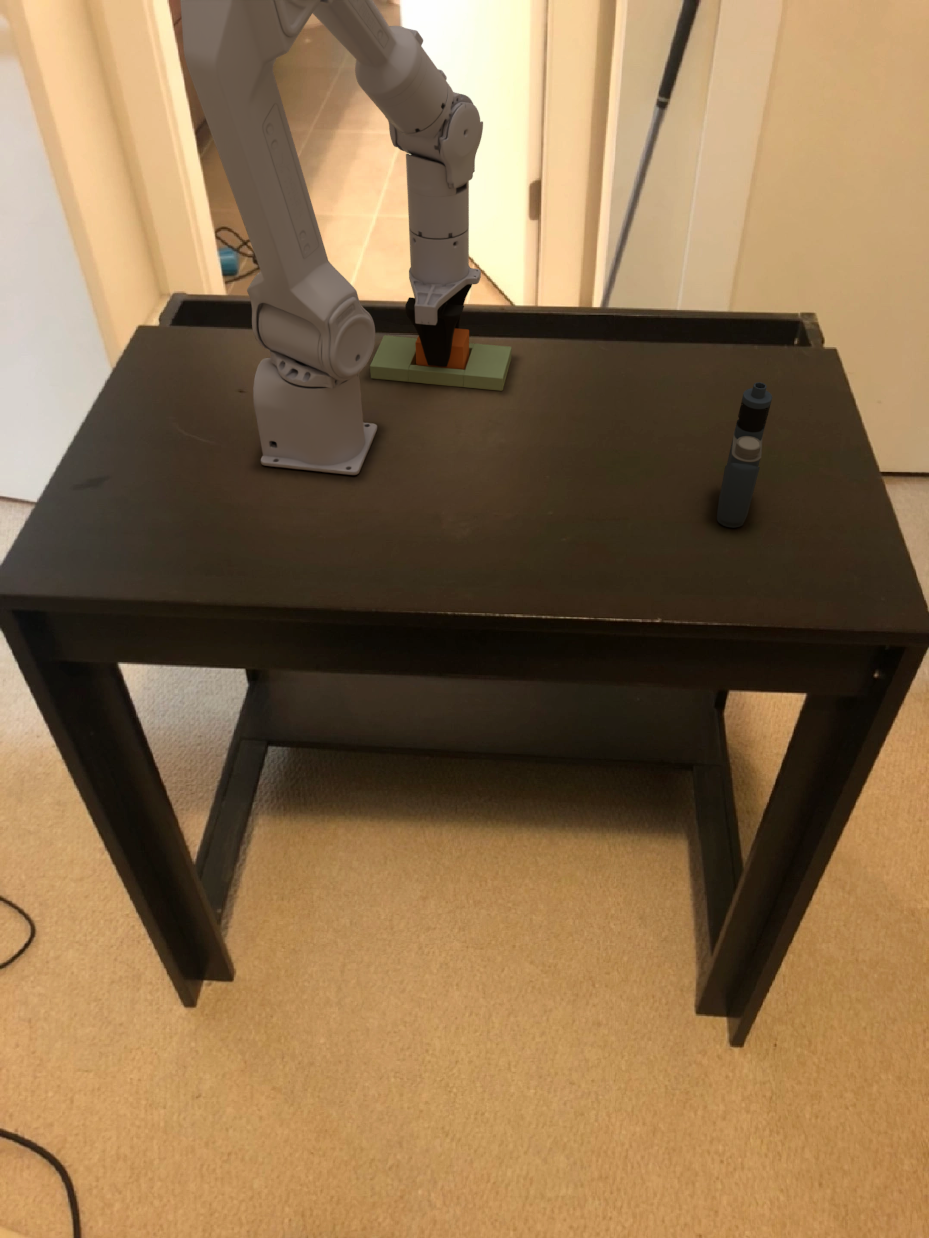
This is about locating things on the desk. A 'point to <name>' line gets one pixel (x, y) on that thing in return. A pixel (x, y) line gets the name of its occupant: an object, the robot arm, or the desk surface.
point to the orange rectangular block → (458, 351)
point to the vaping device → (744, 457)
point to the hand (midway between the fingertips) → (441, 354)
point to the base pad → (480, 372)
